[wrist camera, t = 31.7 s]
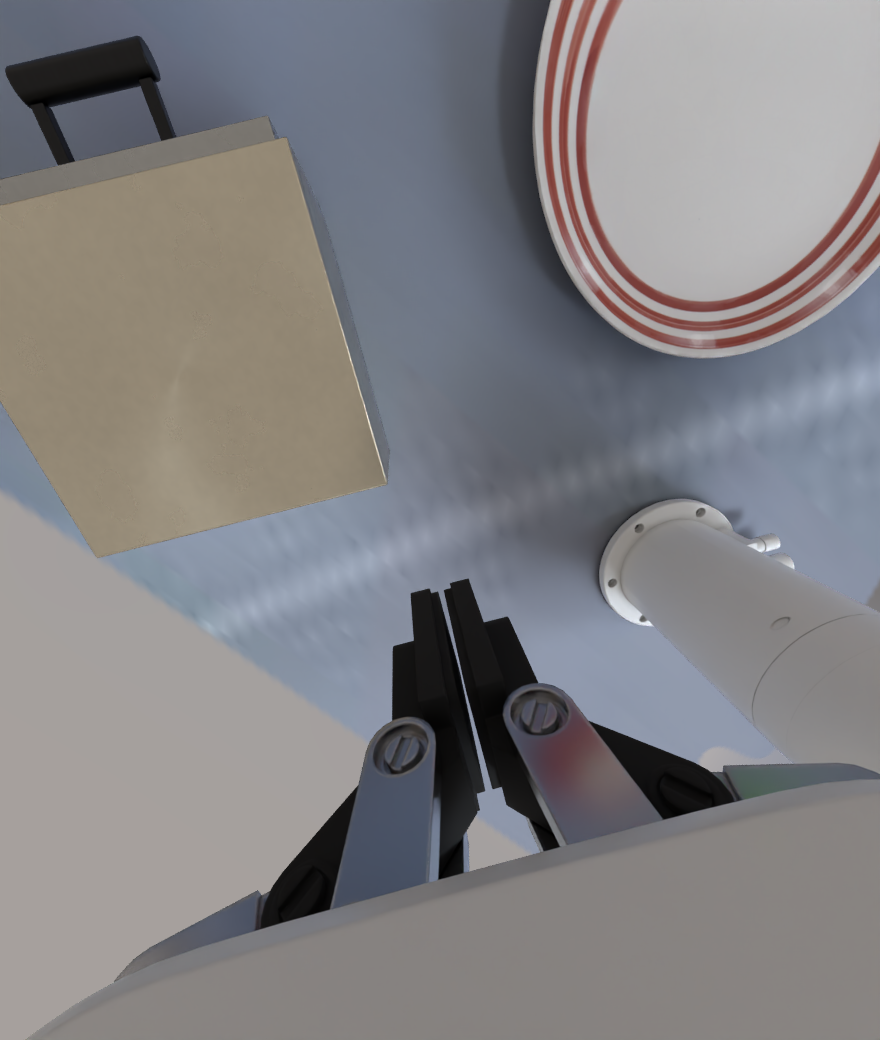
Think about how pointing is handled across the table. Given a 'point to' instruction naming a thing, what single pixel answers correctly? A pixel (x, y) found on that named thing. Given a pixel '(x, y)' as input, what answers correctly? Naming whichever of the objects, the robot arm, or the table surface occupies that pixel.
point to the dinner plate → (711, 163)
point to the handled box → (99, 76)
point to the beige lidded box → (184, 349)
